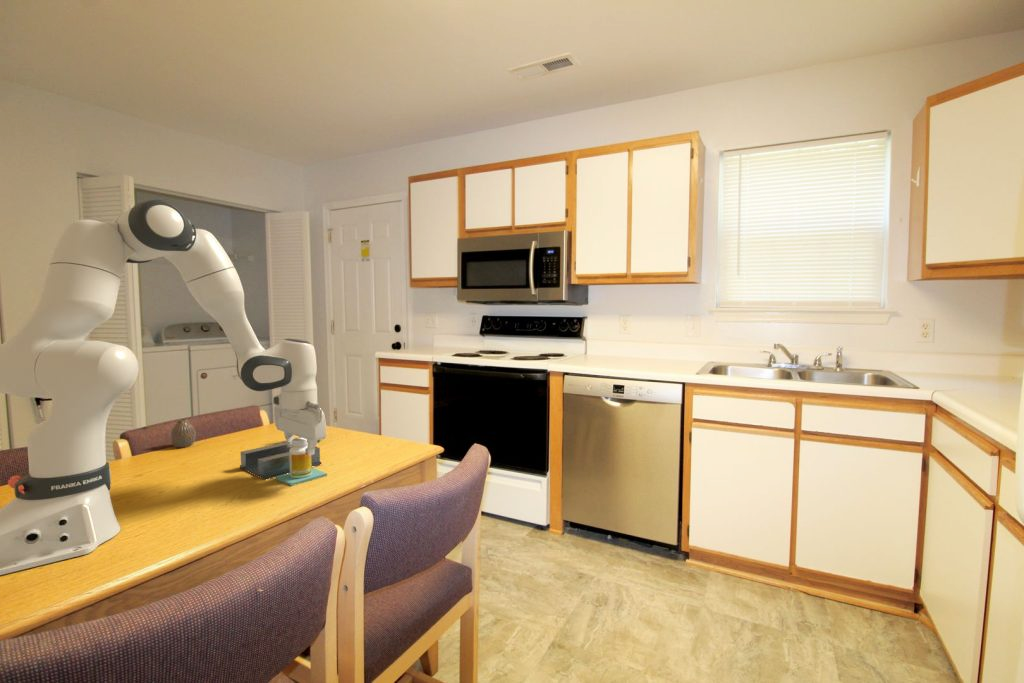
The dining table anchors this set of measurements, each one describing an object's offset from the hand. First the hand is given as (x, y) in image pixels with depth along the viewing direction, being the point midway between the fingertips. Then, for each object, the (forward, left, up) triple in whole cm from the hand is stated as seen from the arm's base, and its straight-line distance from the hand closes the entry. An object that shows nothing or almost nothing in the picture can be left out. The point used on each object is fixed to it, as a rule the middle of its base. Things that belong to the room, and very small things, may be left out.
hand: (300, 451), depth 131 cm
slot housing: (+1, +13, -7) cm, 15 cm away
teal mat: (0, 0, -7) cm, 7 cm away
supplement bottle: (0, 0, -7) cm, 7 cm away
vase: (-9, +57, -7) cm, 58 cm away
